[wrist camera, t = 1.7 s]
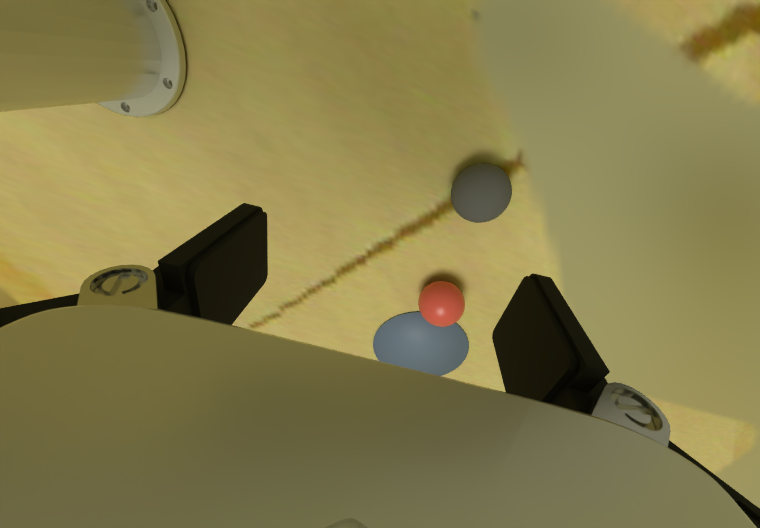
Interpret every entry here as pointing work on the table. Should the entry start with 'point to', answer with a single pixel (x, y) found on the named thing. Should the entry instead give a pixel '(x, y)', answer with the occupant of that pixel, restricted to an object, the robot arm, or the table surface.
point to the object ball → (441, 303)
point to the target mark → (420, 344)
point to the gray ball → (481, 192)
